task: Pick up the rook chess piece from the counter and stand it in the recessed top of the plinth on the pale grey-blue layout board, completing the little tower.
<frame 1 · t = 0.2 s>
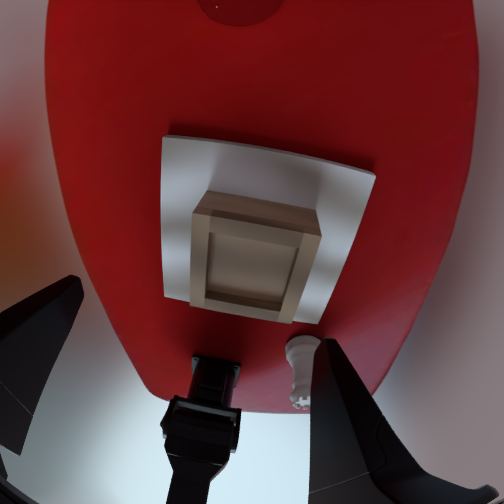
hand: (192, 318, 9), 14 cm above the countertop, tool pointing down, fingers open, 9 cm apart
rook chess piece: (303, 343, 31), on the countertop
layout board: (254, 239, 24), on the countertop
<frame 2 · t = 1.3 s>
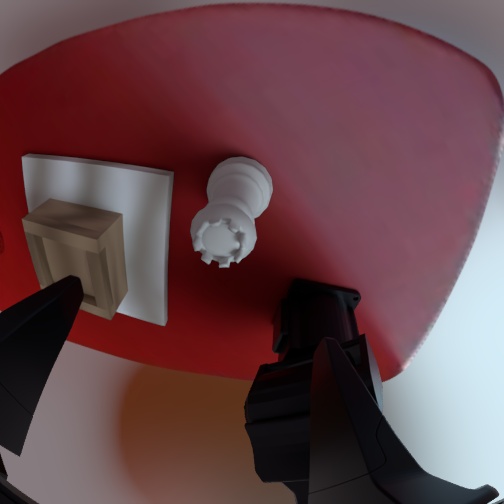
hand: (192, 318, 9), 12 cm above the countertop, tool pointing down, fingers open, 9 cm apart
rook chess piece: (241, 184, 20), on the countertop
layout board: (92, 240, 23), on the countertop
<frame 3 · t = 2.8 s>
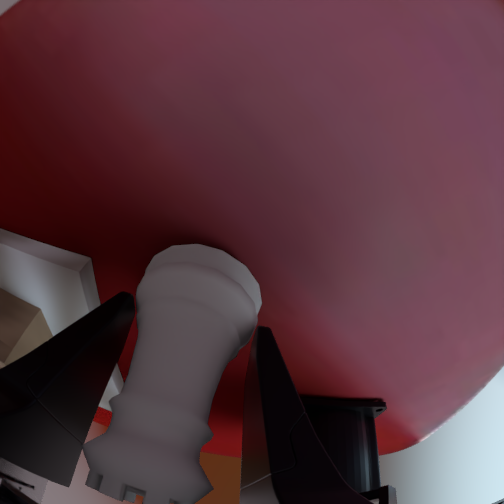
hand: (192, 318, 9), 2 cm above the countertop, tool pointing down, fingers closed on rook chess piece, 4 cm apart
rook chess piece: (204, 284, 11), on the countertop, touching gripper
layout board: (26, 321, 14), on the countertop
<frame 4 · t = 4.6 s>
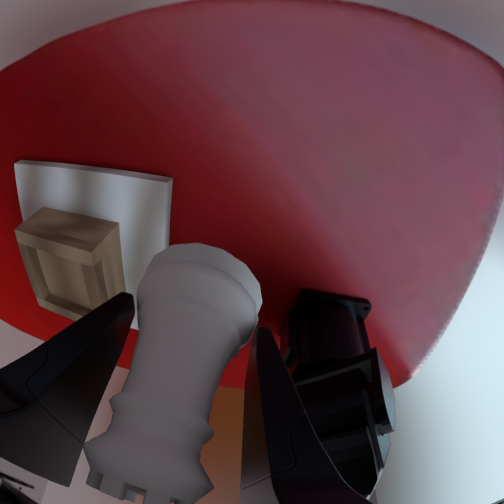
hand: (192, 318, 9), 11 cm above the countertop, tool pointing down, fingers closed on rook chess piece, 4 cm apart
rook chess piece: (205, 283, 11), point 9 cm above the countertop, touching gripper
layout board: (89, 249, 22), on the countertop
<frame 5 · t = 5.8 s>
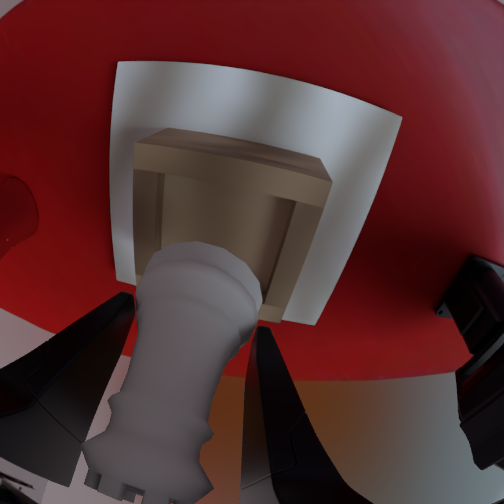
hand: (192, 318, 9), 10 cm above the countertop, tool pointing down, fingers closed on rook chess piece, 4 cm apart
rook chess piece: (204, 282, 11), point 8 cm above the countertop, touching gripper
beer glass: (20, 206, 19), on the countertop
layout board: (231, 202, 17), on the countertop
when the fingers open (7 cm above the countertop, at t = 6.5 s): rook chess piece drops 1 cm, resting on layout board.
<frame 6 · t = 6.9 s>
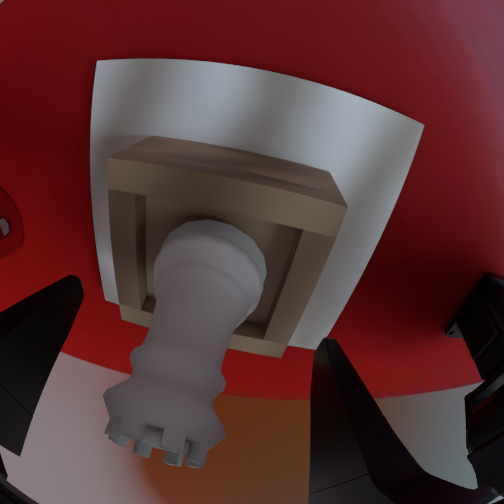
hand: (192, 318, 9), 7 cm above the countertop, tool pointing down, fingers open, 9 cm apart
rook chess piece: (214, 259, 12), point 4 cm above the countertop, touching layout board
beer glass: (5, 217, 17), on the countertop
layout board: (227, 220, 15), on the countertop
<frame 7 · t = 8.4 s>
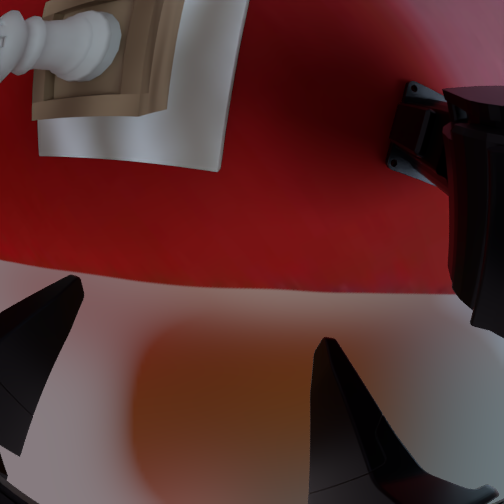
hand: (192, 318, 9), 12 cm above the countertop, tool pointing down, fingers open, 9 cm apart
rook chess piece: (95, 46, 10), point 4 cm above the countertop, touching layout board
layout board: (125, 51, 14), on the countertop
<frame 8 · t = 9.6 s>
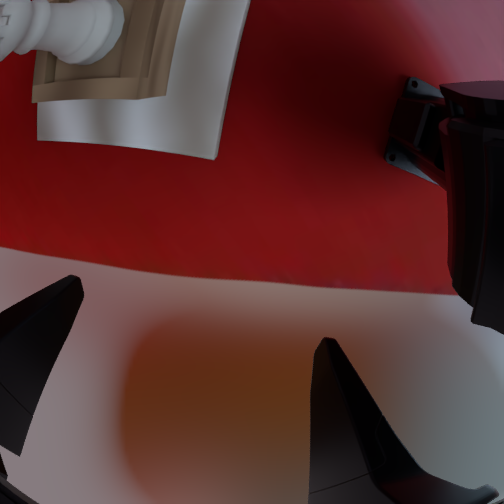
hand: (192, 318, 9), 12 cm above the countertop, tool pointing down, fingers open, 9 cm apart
rook chess piece: (98, 31, 10), point 4 cm above the countertop, touching layout board
layout board: (127, 38, 13), on the countertop
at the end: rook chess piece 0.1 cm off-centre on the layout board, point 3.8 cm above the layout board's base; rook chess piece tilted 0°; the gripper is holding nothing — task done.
